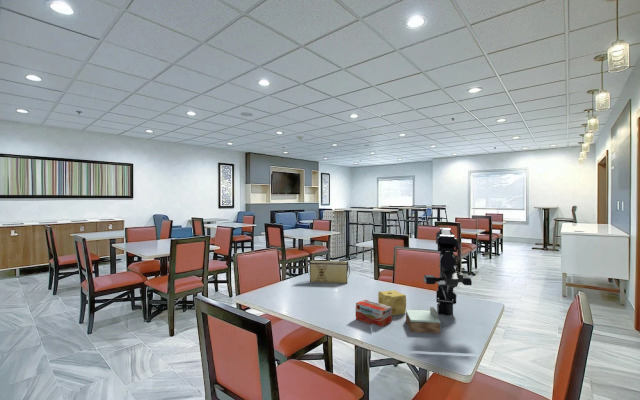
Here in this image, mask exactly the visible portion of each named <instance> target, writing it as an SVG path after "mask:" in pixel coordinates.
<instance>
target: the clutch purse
mask: <svg viewBox="0 0 640 400" xmlns="http://www.w3.org/2000/svg"><path fill="white" fill-rule="evenodd" d="M350 268H351V267H350V263H349V261H341V260H340V261H339V260H338V261H337V260H336V261H335V260H334V261H333V260H309V262H308V263H307V267H306V270H307V274H308V275H309V282H310V283H326V284H327V283H330V284H331V283H333V284H348V278H349V277H350V275H351V271H350V270H351V269H350Z"/></svg>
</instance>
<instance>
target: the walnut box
mask: <svg viewBox="0 0 640 400" xmlns="http://www.w3.org/2000/svg"><path fill="white" fill-rule="evenodd" d="M405 322H406V324H407V326H408V329H409V332H410V333H423V334H441V322H440V323H429V322H411V321H410V319H409V317H408V315H407V313H406V312H405Z"/></svg>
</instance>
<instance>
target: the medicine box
mask: <svg viewBox="0 0 640 400" xmlns="http://www.w3.org/2000/svg"><path fill="white" fill-rule="evenodd" d="M392 319H393V315H392V309H391V306H387V305H383V304H380V303H378V302H375V301H372V300H369V299H362V300H360V301H358V302H355V321H359V322H362V323H364V324H369V325H376V326H379V327H384V326H386V325H388V324H390V323H392Z"/></svg>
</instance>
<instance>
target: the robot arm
mask: <svg viewBox="0 0 640 400" xmlns="http://www.w3.org/2000/svg"><path fill="white" fill-rule="evenodd" d="M435 244H436V245H437V252H439V265H438V267H439V277H437V276H436V277H435V276H434V274H425V275H424V276H423V282H424V283H425V284H426V285H435V284H437V285H438V286H437V289H436V293H435V294H436V303H437V304H436V312H437V313H438V315H443V316H451V315H452V316H453V315H454V305H456V304H457V293H456V291H454V289H455V288H457V287H458V285H459V283H462V285H464V286H472V284H473V283H472V281H473V280H472V279H471V278H470V277H469V276H467V275H464V274H463V272H456V268H455V266H456V263H457V262H456V258H455V253H458V251H459V240H458V238H457V237H455V234H454V233H453V232H452V230H451V228H449V227H440V228H439V231H437V232H436V233H435Z"/></svg>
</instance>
